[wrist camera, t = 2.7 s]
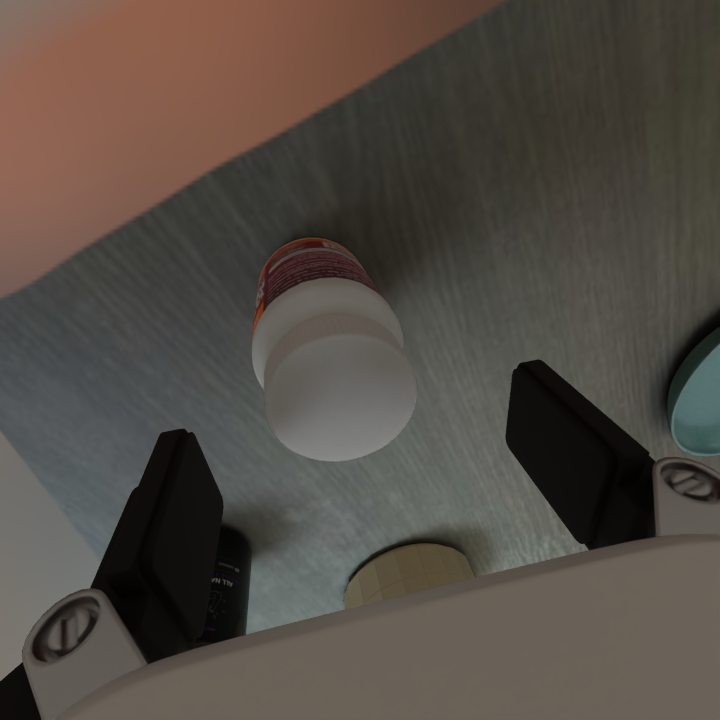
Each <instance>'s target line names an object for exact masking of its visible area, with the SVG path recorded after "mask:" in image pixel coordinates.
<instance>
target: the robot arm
mask: <svg viewBox="0 0 720 720" xmlns="http://www.w3.org/2000/svg"><path fill="white" fill-rule="evenodd" d="M506 443H507V445H508V447H509V449H510V450H511V452H512V453H513V454H514V456H515V457H516V459H517V460H518V461H519V463H520V464H521V465H522V467H523V468H524V470H525V471H526V472H527V474H528V475H529V476H530V478H531V479H532V481H533V482H534V483H535V485H536V486H537V487H538V489H539V490H540V491H541V493H542V494H543V496H544V497H545V498H546V500H547V501H548V502H549V504H550V505H551V507H552V508H553V509H554V511H555V512H556V513H557V515H558V516H559V518H560V519H561V520H562V522H563V523H564V524H565V526H566V527H567V528H568V530H569V531H570V533H571V534H572V535H573V537H574V538H575V539H576V540H577V541H578V542H579V543H581V544H585V545H586V547H587V548H588V549H589V551H585V552H580V553H576V554H571V555H567V556H563V557H559V558H555V559H551V560H546V561H542V562H538V563H534V564H530V565H526V566H521V567H517V568H513V569H509V570H505V571H500V572H496V573H492V574H488V575H484V576H480V577H476V578H472V579H467V580H463V581H459V582H455V583H451V584H447V585H443V586H439V587H435V588H431V589H427V590H423V591H418V592H414V593H410V594H406V595H402V596H398V597H394V598H390V599H386V600H382V601H378V602H374V603H370V604H366V605H362V606H358V607H354V608H350V609H346V610H342V611H338V612H334V613H330V614H326V615H322V616H318V617H314V618H310V619H306V620H302V621H298V622H294V623H290V624H286V625H282V626H278V627H274V628H270V629H266V630H262V631H259V632H255V633H251V634H248V635H244V636H240V637H236V638H233V639H229V640H225V641H222V642H218V643H214V644H211V645H207V646H203V647H199V648H196V649H194V647H195V642H196V638H198V637H201V636H202V634H203V632H204V627H205V621H206V614H207V608H208V602H209V596H210V590H211V583H212V577H213V571H214V565H215V558H216V552H217V546H218V540H219V534H220V527H221V521H222V515H223V499H222V495H221V493H220V491H219V489H218V486H217V484H216V482H215V480H214V477H213V475H212V473H211V471H210V468H209V466H208V464H207V461H206V459H205V457H204V455H203V452H202V450H201V448H200V446H199V443H198V441H197V439H196V436H195V435H194V433H193V432H190V433H188V432H187V431H186V430H185V429H178V430H172V431H167V432H163V433H161V434H160V436H159V438H158V440H157V443H156V445H155V447H154V450H153V452H152V455H151V457H150V459H149V462H148V464H147V467H146V469H145V471H144V474H143V476H142V479H141V481H140V483H139V486H138V487H136V488H135V489H134V490H133V491H132V493H131V494H130V497H129V499H128V501H127V504H126V506H125V508H124V510H123V513H122V515H121V517H120V520H119V522H118V524H117V527H116V529H115V531H114V534H113V536H112V538H111V541H110V543H109V545H108V548H107V550H106V552H105V555H104V557H103V559H102V562H101V564H100V566H99V569H98V571H97V574H96V576H95V578H94V581H93V583H92V585H91V588H90V589H83V590H79V591H77V592H74V593H72V594H70V595H68V596H66V597H65V598H63V599H61V600H60V601H58V602H57V603H55V604H54V605H53V606H52V607H51V608H50V609H49V610H47V611H46V612H45V613H44V614H43V615H42V616H41V618H40V619H39V620H38V621H37V623H36V624H35V625H34V626H33V628H32V630H31V631H30V633H29V635H28V636H27V638H26V640H25V644H24V647H23V650H22V660H23V662H22V663H21V664H20V665H19V666H18V667H16V668H15V669H14V670H13V671H12V672H11V673H9V674H8V675H7V676H6V677H5V678H4V679H3V680H2V681H0V720H720V473H718V472H717V471H715V470H714V469H712V468H710V467H708V466H706V465H704V464H702V463H700V462H697V461H694V460H691V459H687V458H680V457H666V458H663V459H659V460H658V461H657V462H655V461H654V460H653V459H652V458H651V457H650V456H648V455H649V452H648V451H647V450H646V449H645V448H644V447H642V446H641V445H640V444H639V443H638V442H637V441H635V440H634V439H633V438H632V437H631V436H630V435H628V434H627V433H626V432H625V431H624V430H623V429H621V428H620V427H619V426H618V425H617V424H616V423H614V422H613V421H612V420H611V419H610V418H608V417H607V416H606V415H605V414H604V413H603V412H601V411H600V410H599V409H598V408H597V407H596V406H594V405H593V404H592V403H591V402H590V401H589V400H587V399H586V398H585V397H584V396H583V395H582V394H580V393H579V392H578V391H577V390H576V389H575V388H573V387H572V386H571V385H570V384H569V383H568V382H566V381H565V380H564V379H563V378H562V377H561V376H559V375H558V374H557V373H556V372H555V371H554V370H552V369H551V368H550V367H549V366H548V365H547V364H545V363H544V362H543V361H541V360H533V361H528V362H523V363H520V364H519V365H518V367H517V369H514V371H513V374H512V383H511V392H510V401H509V410H508V418H507V427H506Z"/></svg>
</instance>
